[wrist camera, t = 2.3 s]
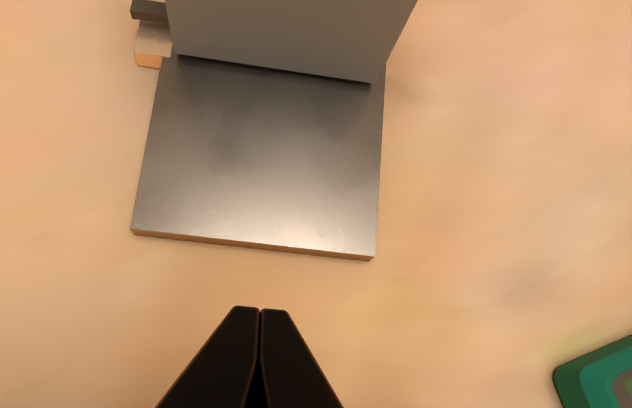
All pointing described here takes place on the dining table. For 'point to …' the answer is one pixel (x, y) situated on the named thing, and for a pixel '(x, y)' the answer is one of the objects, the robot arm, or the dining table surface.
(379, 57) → the gauge carriage
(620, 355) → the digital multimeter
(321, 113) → the base
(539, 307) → the dining table surface
